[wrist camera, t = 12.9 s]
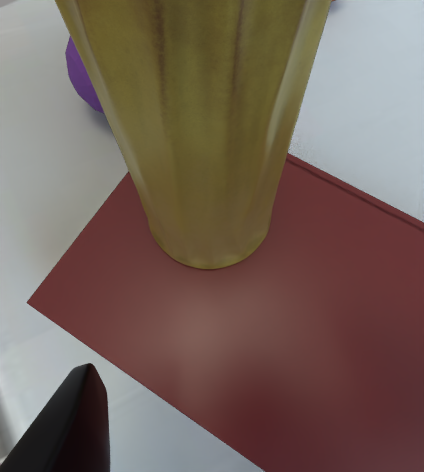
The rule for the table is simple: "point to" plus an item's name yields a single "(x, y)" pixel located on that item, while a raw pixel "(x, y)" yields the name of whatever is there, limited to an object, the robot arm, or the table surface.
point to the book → (267, 325)
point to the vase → (201, 109)
